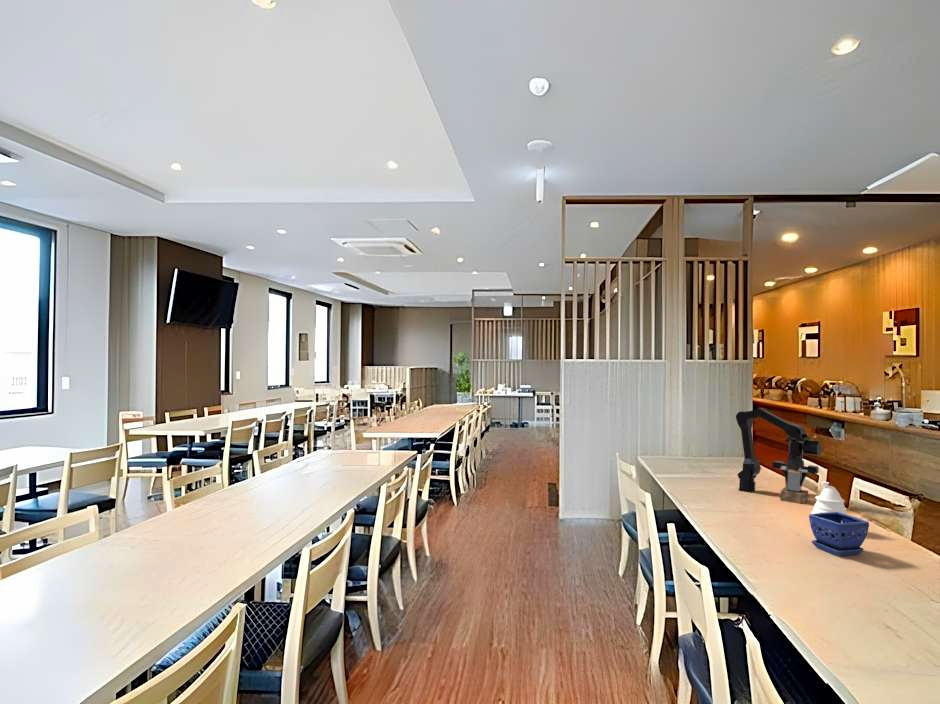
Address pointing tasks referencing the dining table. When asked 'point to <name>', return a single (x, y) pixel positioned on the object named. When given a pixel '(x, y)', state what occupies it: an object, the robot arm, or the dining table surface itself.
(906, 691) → the dining table surface
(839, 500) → the honey pot
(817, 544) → the flower pot
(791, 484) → the steel peg
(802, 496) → the socket block
